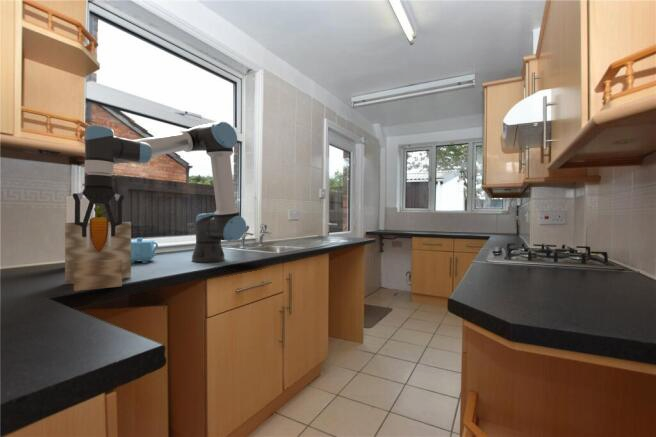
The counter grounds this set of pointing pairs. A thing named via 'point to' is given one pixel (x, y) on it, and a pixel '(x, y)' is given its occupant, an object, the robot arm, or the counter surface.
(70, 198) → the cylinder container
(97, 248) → the carrot
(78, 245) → the beige patterned block
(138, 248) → the teapot
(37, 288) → the counter surface
